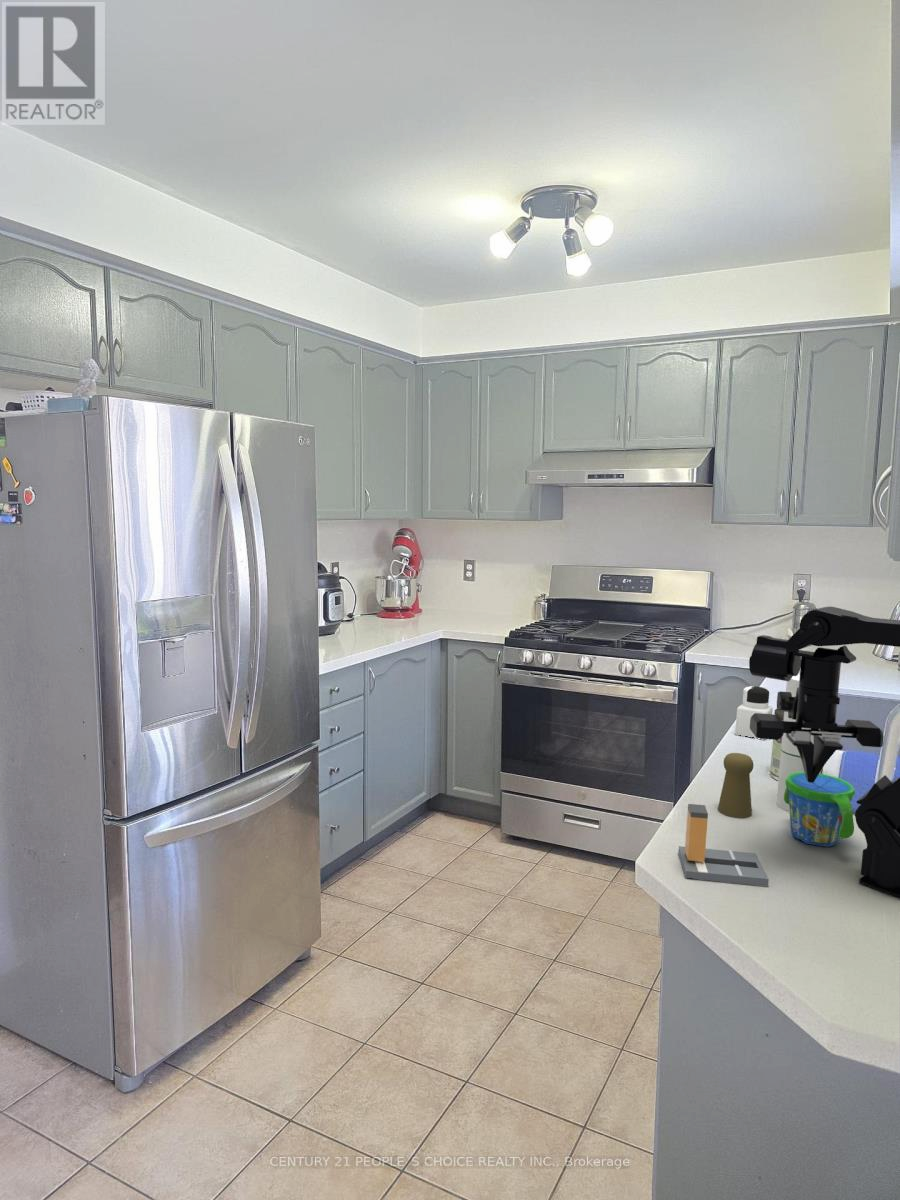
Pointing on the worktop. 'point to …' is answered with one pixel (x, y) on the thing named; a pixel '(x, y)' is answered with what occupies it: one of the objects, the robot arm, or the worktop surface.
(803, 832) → the snack cup
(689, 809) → the fader tab
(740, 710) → the medicine bottle
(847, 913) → the worktop surface
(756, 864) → the fader console
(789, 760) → the cylindrical container
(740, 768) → the cork
